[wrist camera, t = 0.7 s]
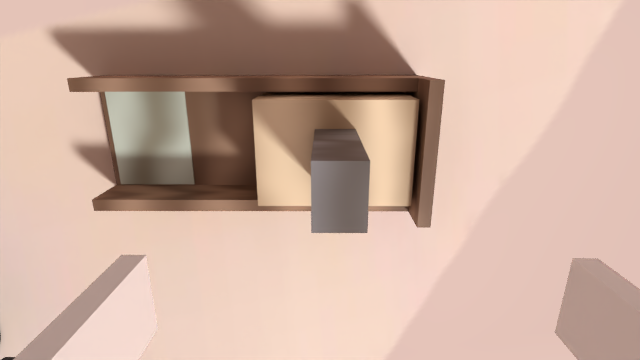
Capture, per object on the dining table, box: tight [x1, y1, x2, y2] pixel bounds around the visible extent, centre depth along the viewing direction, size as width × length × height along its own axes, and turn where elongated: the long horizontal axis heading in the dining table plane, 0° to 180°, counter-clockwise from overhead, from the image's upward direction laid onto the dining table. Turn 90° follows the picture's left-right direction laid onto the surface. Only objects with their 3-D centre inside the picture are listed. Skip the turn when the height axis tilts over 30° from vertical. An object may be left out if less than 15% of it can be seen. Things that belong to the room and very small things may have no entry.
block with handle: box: [252, 93, 419, 233], centre depth 26 cm, size 12×8×15 cm
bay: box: [67, 75, 445, 227], centre depth 31 cm, size 28×11×8 cm, turn 90°
